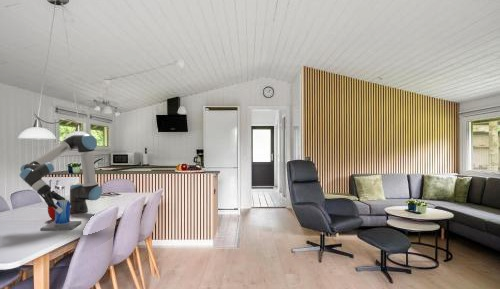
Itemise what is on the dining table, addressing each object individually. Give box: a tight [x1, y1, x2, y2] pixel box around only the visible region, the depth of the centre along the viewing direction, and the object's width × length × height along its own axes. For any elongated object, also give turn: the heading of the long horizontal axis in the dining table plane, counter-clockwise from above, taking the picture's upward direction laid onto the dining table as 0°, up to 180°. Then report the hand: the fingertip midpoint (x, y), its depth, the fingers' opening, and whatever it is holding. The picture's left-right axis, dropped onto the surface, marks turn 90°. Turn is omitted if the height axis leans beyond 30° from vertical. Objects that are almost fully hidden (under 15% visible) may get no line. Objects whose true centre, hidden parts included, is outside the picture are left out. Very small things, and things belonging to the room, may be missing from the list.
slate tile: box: [40, 220, 83, 231], centre depth 198 cm, size 18×18×2 cm
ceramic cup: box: [47, 205, 71, 221], centre depth 218 cm, size 13×17×10 cm
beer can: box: [54, 199, 71, 226], centre depth 198 cm, size 8×8×16 cm
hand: (65, 210), depth 198 cm, fingers open, 13 cm apart
